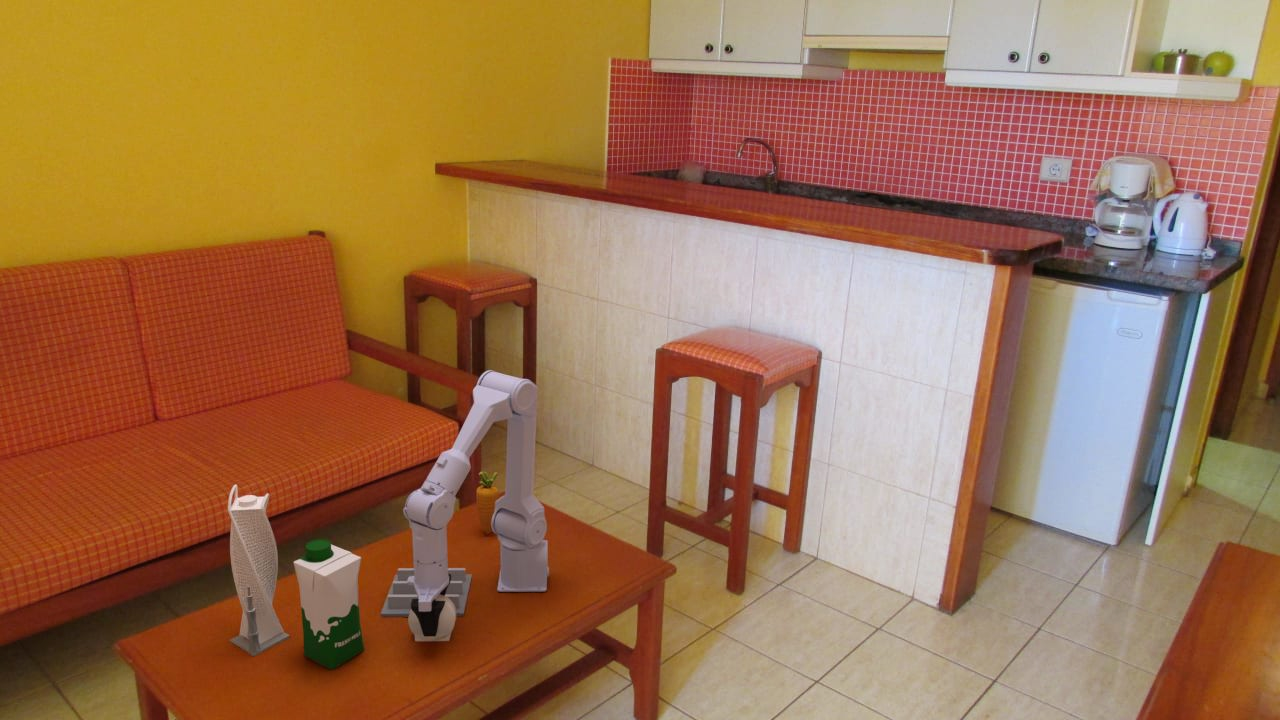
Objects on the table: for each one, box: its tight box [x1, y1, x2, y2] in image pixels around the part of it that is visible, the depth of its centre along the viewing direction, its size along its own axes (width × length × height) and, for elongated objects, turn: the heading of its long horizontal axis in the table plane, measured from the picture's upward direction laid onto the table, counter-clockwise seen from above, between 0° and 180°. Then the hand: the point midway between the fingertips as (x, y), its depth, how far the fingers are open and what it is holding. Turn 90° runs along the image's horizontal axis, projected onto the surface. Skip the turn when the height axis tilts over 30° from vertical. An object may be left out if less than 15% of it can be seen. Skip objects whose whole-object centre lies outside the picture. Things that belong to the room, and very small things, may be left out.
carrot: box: [475, 471, 500, 535], centre depth 194 cm, size 5×5×15 cm
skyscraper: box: [227, 483, 291, 657], centre depth 153 cm, size 8×8×28 cm
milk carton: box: [293, 538, 365, 671], centre depth 150 cm, size 9×9×20 cm
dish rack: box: [380, 567, 473, 618], centre depth 171 cm, size 15×14×3 cm
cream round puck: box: [407, 594, 457, 642], centre depth 157 cm, size 8×2×8 cm, turn 94°
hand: (432, 625), depth 158 cm, fingers open, 6 cm apart
